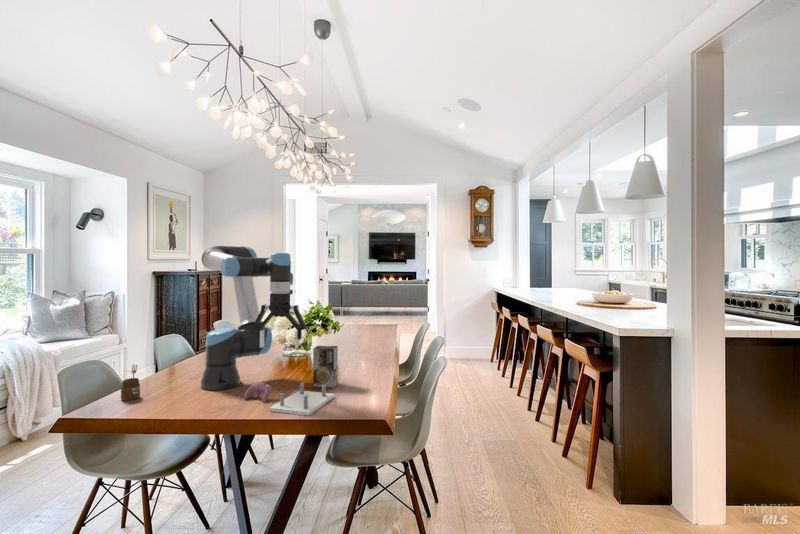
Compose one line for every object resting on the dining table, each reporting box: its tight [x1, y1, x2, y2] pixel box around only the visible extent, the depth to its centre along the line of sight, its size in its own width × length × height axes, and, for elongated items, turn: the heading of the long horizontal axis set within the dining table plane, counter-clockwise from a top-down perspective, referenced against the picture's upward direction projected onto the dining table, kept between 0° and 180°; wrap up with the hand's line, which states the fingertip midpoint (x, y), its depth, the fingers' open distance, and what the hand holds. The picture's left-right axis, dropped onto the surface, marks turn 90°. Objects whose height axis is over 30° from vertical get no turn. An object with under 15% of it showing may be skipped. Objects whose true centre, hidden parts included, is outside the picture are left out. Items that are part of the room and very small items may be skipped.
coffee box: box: [312, 345, 339, 388], centre depth 165 cm, size 9×6×16 cm
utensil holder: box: [120, 364, 141, 402], centre depth 147 cm, size 6×6×12 cm
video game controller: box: [243, 382, 274, 403], centre depth 147 cm, size 10×5×7 cm, turn 71°
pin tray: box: [268, 382, 335, 417], centre depth 142 cm, size 15×20×5 cm
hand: (279, 347), depth 151 cm, fingers open, 13 cm apart
